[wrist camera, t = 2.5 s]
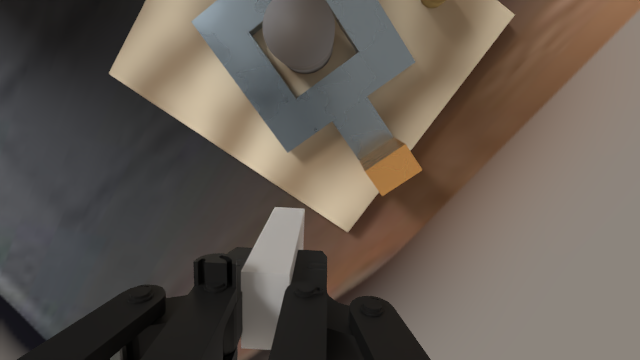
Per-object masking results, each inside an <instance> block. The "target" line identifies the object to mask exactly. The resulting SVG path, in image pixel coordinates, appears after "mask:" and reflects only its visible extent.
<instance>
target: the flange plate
mask: <svg viewBox="0 0 640 360" xmlns="http://www.w3.org/2000/svg"><path fill="white" fill-rule="evenodd" d="M271 1H272V0H217V1H215V2H214V3H213V4H212V5H211V6H209V7H208V8H207V9H206V10H205V11H203V12H202V13H201V14H200V15H199V16H197V17H196V18H195V19H194V20H193V21H191V22H192V24H193V25H194V26H195V28H196V29H197V30H198V32H199V33H200V34H201V36H202V37H203V39H204V40H205V41H206V43H207V44H208V45H209V47H210V48H211V49H212V51H213V52H214V54H215V55H216V56H217V58H218V59H219V60H220V62H221V63H222V64H223V66H224V67H225V68H226V70H227V71H228V73H229V74H230V75H231V77H232V78H233V79H234V81H235V82H236V83H237V85H238V86H239V88H240V89H241V90H242V92H243V93H244V94H245V96H246V97H247V98H248V100H249V101H250V103H251V104H252V105H253V107H254V108H255V109H256V111H257V112H258V113H259V115H260V116H261V118H262V119H263V120H264V122H265V123H266V124H267V126H268V127H269V128H270V130H271V131H272V132H273V134H274V135H275V137H276V138H277V139H278V141H279V142H280V143H281V145H282V146H283V147H284V149H285V150H286V152H287V153H288V152H290V151H291V150H293V149H294V148H295V147H297V146H298V145H300V144H301V143H302V142H304V141H305V140H307V139H308V138H309V137H311V136H312V135H314V134H315V133H317V132H318V131H319V130H321V129H322V128H324V127H325V126H326V125H328V124H329V123H331V122H333V123H334V125H335V126H336V128H337V129H338V131H339V132H340V134H341V135H342V136H343V138H344V139H345V141H346V142H347V144H348V145H349V147H350V148H351V149H352V151H353V152H354V154H355V155H356V157H357V158H358V160H359V161H360V163H361V165H362V167H363V169H364V171H365V172H366V174H367V175H368V177H369V178H370V180H371V181H372V182H373V184H374V185H375V187H376V188H377V190H378V191H379V193H380V194H381V195H382V196H384V195H385V194H387V193H388V192H390V191H391V190H393V189H394V188H396V187H397V186H399V185H400V184H402V183H404V182H405V181H407V180H408V179H410V178H411V177H413V176H414V175H416V174H417V173H419V172H420V171H422V168H421V167H420V165H419V164H418V162H417V161H416V159H415V158H414V156H413V155H412V153H411V151H410V150H409V148H408V147H407V145H406V144H405V143H403V142H401V141H400V140H398V139H396V138H394V137H393V135H392V134H391V132H390V131H389V129H388V128H387V126H386V125H385V123H384V122H383V120H382V119H381V117H380V116H379V114H378V113H377V111H376V110H375V108H374V106H373V105H372V103H371V102H370V100H369V99H368V97H367V96H369V95H370V94H371V93H373V92H374V91H376V90H377V89H378V88H380V87H381V86H383V85H384V84H385V83H387V82H388V81H390V80H391V79H392V78H394V77H395V76H397V75H398V74H399V73H401V72H402V71H404V70H405V69H406V68H408V67H409V66H411V65H412V64H414V63H415V60H414V58H413V57H412V55H411V54H410V52H409V50H408V49H407V47H406V45H405V44H404V42H403V40H402V39H401V37H400V36H399V34H398V32H397V31H396V29H395V27H394V26H393V24H392V22H391V21H390V19H389V18H388V16H387V14H386V13H385V11H384V9H383V8H382V6H381V4H380V3H379V1H378V0H325V1H326V2H327V4H328V5H329V7H330V9H331V11H332V13H333V16H334V18H335V20H336V21H337V23H338V25H339V26H340V28H341V29H342V31H343V32H344V34H345V35H346V37H347V39H348V40H349V42H350V43H351V45H352V46H353V48H354V49H355V51H356V52H357V54H355V55H354V56H353V57H351V58H350V59H349V60H347V61H346V62H345V63H343V64H342V65H341V66H339V67H338V68H337V69H335V70H334V71H332V72H331V73H330V74H328V75H327V76H326V77H324V78H323V79H322V80H320V81H319V82H318V83H316V84H315V85H314V86H312V87H311V88H309V89H308V90H307V91H305V92H304V93H303V94H301V95H300V96H299V97H297V98H296V96H295V95H294V93H293V92H292V91H291V89H290V88H289V86H288V85H287V83H286V82H285V81H284V79H283V78H282V76H281V75H280V73H279V72H278V71H277V69H276V68H275V66H274V65H273V64H272V62H271V61H270V59H269V58H268V56H267V55H266V54H265V52H264V51H263V49H262V48H261V46H260V45H259V44H258V42H257V41H256V39H255V38H254V36H253V35H254V34H255V33H256V32H257V31H259V30H260V29H261V28H263V26H262V25H263V18H264V14H265V11H266V9H267V7H268V5H269V4H270V2H271Z"/></svg>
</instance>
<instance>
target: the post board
mask: <svg viewBox="0 0 640 360" xmlns="http://www.w3.org/2000/svg"><path fill="white" fill-rule="evenodd" d="M215 1H217V0H146V1H145V3H144V5H143V7H142V9H141V11H140V13H139V15H138V17H137V19H136V21H135V23H134V25H133V27H132V29H131V31H130V33H129V35H128V37H127V38H126V40H125V42H124V44H123V46H122V48H121V50H120V52H119V54H118V56H117V58H116V60H115V62H114V64H113V66H112V68H111V70H110V72H109V74H110V75H111V76H113V77H114V78H116V79H117V80H119V81H120V82H122V83H123V84H125V85H126V86H128V87H129V88H131V89H132V90H134V91H135V92H137V93H138V94H140V95H141V96H143V97H144V98H146V99H147V100H149V101H150V102H152V103H153V104H155V105H156V106H158V107H159V108H161V109H162V110H164V111H165V112H167V113H168V114H170V115H171V116H173V117H174V118H176V119H177V120H179V121H180V122H182V123H183V124H185V125H186V126H188V127H189V128H191V129H193V130H194V131H196V132H197V133H199V134H200V135H202V136H203V137H205V138H206V139H208V140H209V141H211V142H212V143H214V144H215V145H217V146H218V147H220V148H221V149H223V150H224V151H226V152H227V153H229V154H230V155H232V156H233V157H235V158H236V159H238V160H239V161H241V162H242V163H244V164H245V165H247V166H248V167H250V168H251V169H253V170H254V171H256V172H257V173H259V174H260V175H262V176H263V177H265V178H266V179H268V180H269V181H271V182H272V183H274V184H275V185H277V186H278V187H280V188H281V189H283V190H284V191H286V192H288V193H289V194H291V195H292V196H294V197H295V198H297V199H298V200H300V201H301V202H303V203H304V204H306V205H307V206H309V207H310V208H312V209H313V210H315V211H316V212H318V213H319V214H321V215H322V216H324V217H325V218H327V219H328V220H330V221H331V222H333V223H334V224H336V225H337V226H339V227H340V228H342V229H343V230H345V231H346V232H349V230H350V229H351V228H352V226H353V225H354V224H355V223H356V221H357V220H358V219H359V217H360V216H361V215H362V213H363V212H364V211H365V210H366V208H367V207H368V206H369V204H370V203H371V202H372V200H373V199H374V198H375V196H376V195H377V194H378V193H379V191H378V190H377V188H376V187H375V185H374V184H373V182H372V181H371V180H370V178H369V177H368V175H367V174H366V172H365V171H364V169H363V167H362V165H361V163H360V161H359V160H358V158H357V157H356V155H355V154H354V152H353V151H352V149H351V148H350V147H349V145H348V144H347V142H346V141H345V139H344V138H343V136H342V135H341V134H340V132H339V131H338V129H337V128H336V126H335V125H334V123H333V122H331V123H329V124H328V125H326V126H325V127H324V128H322V129H321V130H319V131H318V132H317V133H315V134H314V135H312V136H311V137H309V138H308V139H307V140H305V141H304V142H302V143H301V144H300V145H298V146H297V147H295V148H294V149H293V150H291V151H290V152H288V153H287V152H286V150H285V149H284V147H283V146H282V145H281V143H280V142H279V141H278V139H277V138H276V137H275V135H274V134H273V132H272V131H271V130H270V128H269V127H268V126H267V124H266V123H265V122H264V120H263V119H262V118H261V116H260V115H259V113H258V112H257V111H256V109H255V108H254V107H253V105H252V104H251V103H250V101H249V100H248V98H247V97H246V96H245V94H244V93H243V92H242V90H241V89H240V88H239V86H238V85H237V83H236V82H235V81H234V79H233V78H232V77H231V75H230V74H229V73H228V71H227V70H226V68H225V67H224V66H223V64H222V63H221V62H220V60H219V59H218V58H217V56H216V55H215V54H214V52H213V51H212V49H211V48H210V47H209V45H208V44H207V43H206V41H205V40H204V39H203V37H202V36H201V34H200V33H199V32H198V30H197V29H196V28H195V26H194V25H193V24H192V22H191V21H193V20H194V19H195V18H196V17H197V16H199V15H200V14H201V13H202V12H203V11H205V10H206V9H207V8H208V7H209V6H211V5H212V4H213V3H214V2H215ZM378 1H379V3H380V4H381V6H382V8H383V9H384V11H385V13H386V14H387V16H388V18H389V19H390V21H391V22H392V24H393V26H394V27H395V29H396V31H397V32H398V34H399V36H400V37H401V39H402V40H403V42H404V44H405V45H406V47H407V49H408V50H409V52H410V54H411V55H412V57H413V58H414V60H415V63H414V64H412V65H411V66H409V67H408V68H406V69H405V70H404V71H402V72H401V73H399V74H398V75H397V76H395V77H394V78H392V79H391V80H390V81H388V82H387V83H385V84H384V85H383V86H381V87H380V88H378V89H377V90H376V91H374V92H373V93H371V94H370V95H369V96H367V97H368V99H369V100H370V102H371V103H372V105H373V106H374V108H375V110H376V111H377V113H378V114H379V116H380V117H381V119H382V120H383V122H384V123H385V125H386V126H387V128H388V129H389V131H390V132H391V134H392V135H393V137H394V138H396V139H398V140H400V141H401V142H403V143H405V144H406V145H407V147H408V148H409V150H410V151H411V150H412V148H413V147H414V146H415V144H416V143H417V142H418V140H419V139H420V138H421V137H422V135H423V134H424V133H425V131H426V130H427V129H428V127H429V126H430V125H431V123H432V122H433V121H434V120H435V118H436V117H437V116H438V114H439V113H440V112H441V110H442V109H443V108H444V107H445V105H446V104H447V103H448V101H449V100H450V99H451V97H452V96H453V95H454V93H455V92H456V91H457V90H458V88H459V87H460V86H461V84H462V83H463V82H464V80H465V79H466V78H467V77H468V75H469V74H470V73H471V71H472V70H473V69H474V67H475V66H476V65H477V64H478V62H479V61H480V60H481V58H482V57H483V56H484V54H485V53H486V52H487V50H488V49H489V48H490V47H491V45H492V44H493V43H494V41H495V40H496V39H497V37H498V36H499V35H500V34H501V32H502V31H503V30H504V28H505V27H506V26H507V24H508V23H509V22H510V20H511V19H512V18H513V17H514V15H515V14H513V13H512V12H511V11H510V10H508V9H507V8H506V7H505V6H504V5H502V4H501V3H500V2H499V1H497V0H378ZM262 26H263V28H261V29H260V30H259V31H257V32H256V33H255V34H254V35H253V36H254V38H255V39H256V41H257V42H258V44H259V45H260V46H261V48H262V49H263V51H264V52H265V54H266V55H267V56H268V58H269V59H270V61H271V62H272V64H273V65H274V66H275V68H276V69H277V71H278V72H279V73H280V75H281V76H282V78H283V79H284V81H285V82H286V83H287V85H288V86H289V88H290V89H291V91H292V92H293V93H294V95H295V96H296V98H297V97H299V96H300V95H301V94H303V93H304V92H305V91H307V90H308V89H309V88H311V87H312V86H314V85H315V84H316V83H318V82H319V81H320V80H322V79H323V78H324V77H326V76H327V75H328V74H330V73H331V72H332V71H334V70H335V69H337V68H338V67H339V66H341V65H342V64H343V63H345V62H346V61H347V60H349V59H350V58H351V57H353V56H354V55H355V54H357V52H356V51H355V49H354V48H353V46H352V45H351V43H350V42H349V40H348V39H347V37H346V35H345V34H344V32H343V31H342V29H341V28H340V26H339V25H338V23H337V21H336V20H335V18H334V16H333V13H332V11H331V9H330V7H329V5H328V4H327V2H326V1H325V0H272V1H271V2H270V4H269V5H268V7H267V9H266V11H265V14H264V18H263V25H262Z"/></svg>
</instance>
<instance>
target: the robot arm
mask: <svg viewBox="0 0 640 360" xmlns="http://www.w3.org/2000/svg"><path fill="white" fill-rule="evenodd" d="M304 214H305V209H300V208H282V207H275V208H274V209H273V211H272V213H271V215H270V217H269V219H268V221H267V223H266V225H265V227H264V228H263V230H262V232H261V234H260V236H259V238H258V240H257V242H256V244H255V246H254V247H253V248H241V247H237V248H235V249H233V250H232V251H230V252H229V253H228V254H222V253H221V254H209V255H205V256H202V257H200V258H198V259H196V260H195V261H194V287H193V288H192V290H191V291H190V293H189V294H188V295H185V296H179V297H172V298H166V294H165V290H164V289H163V288H162V287H160V286H157V285H140V286H137V287H134V288H130V289H128V290H126V291H124V292H122V293H121V294H119V295H118V296H116V297H115V298H113V299H111V300H110V301H108V302H107V303H105V304H104V305H102V306H100V307H99V308H97V309H96V310H94V311H93V312H91V313H89V314H88V315H86V316H85V317H83V318H82V319H80V320H78V321H77V322H75V323H74V324H72V325H71V326H69V327H67V328H66V329H64V330H63V331H61V332H60V333H58V334H56V335H55V336H53V337H52V338H50V339H49V340H47V341H45V342H44V343H42V344H41V345H39V346H38V347H36V348H34V349H33V350H31V351H30V352H28V353H27V354H25V355H23V356H22V357H20V358H19V359H17V360H110V358H111V357H112V356H113V355H114V354H116V353H117V352H118V351H120V360H237V344H238V342H239V339H240V336H241V348H247V349H264V350H271V351H270V356H269V360H430V358H429V357H428V355H427V354H426V352H425V351H424V350H423V348H422V347H421V345H420V344H419V343H418V341H417V340H416V338H415V337H414V335H413V334H412V333H411V331H410V330H409V329H408V327H407V326H406V324H405V323H404V321H403V320H402V319H401V317H400V316H399V314H398V313H397V312H396V310H395V309H394V307H393V306H392V305H391V304H390V303H389V302H387V301H385V300H383V299H381V298H378V297H374V296H362V297H358V298H356V299H354V300H353V301H352V302H351V304H350V306H347V305H344V304H341V303H338V302H336V301H335V300H333V299H332V298H331V297H330V296H329V295H328V293H327V256H326V255H325V254H324V253H323V252H322V251H312V250H303V240H304Z"/></svg>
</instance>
